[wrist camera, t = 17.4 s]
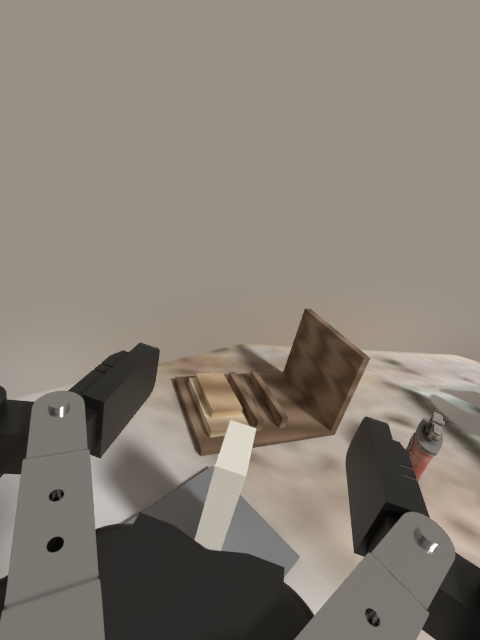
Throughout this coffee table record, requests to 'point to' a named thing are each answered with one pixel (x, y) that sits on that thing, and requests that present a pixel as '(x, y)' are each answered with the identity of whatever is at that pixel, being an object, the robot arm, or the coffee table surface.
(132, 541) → the robot arm
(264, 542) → the mat
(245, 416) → the rack
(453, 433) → the coffee table surface
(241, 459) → the block
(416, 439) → the lighter
